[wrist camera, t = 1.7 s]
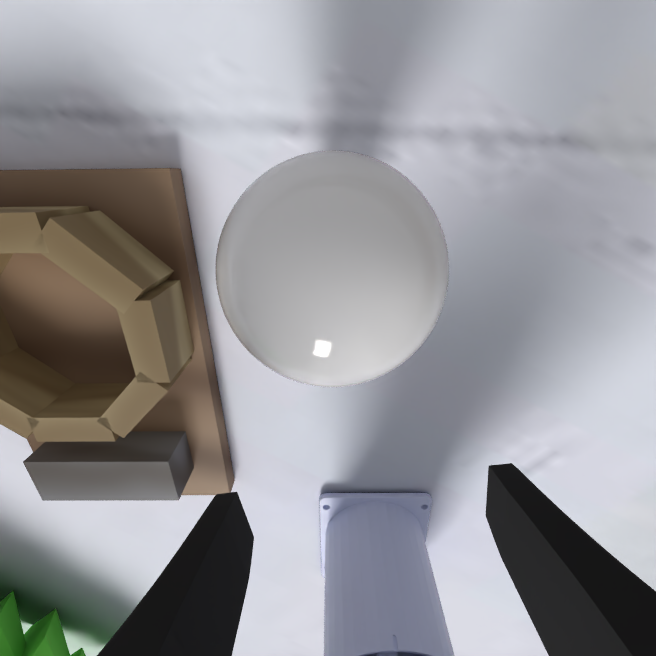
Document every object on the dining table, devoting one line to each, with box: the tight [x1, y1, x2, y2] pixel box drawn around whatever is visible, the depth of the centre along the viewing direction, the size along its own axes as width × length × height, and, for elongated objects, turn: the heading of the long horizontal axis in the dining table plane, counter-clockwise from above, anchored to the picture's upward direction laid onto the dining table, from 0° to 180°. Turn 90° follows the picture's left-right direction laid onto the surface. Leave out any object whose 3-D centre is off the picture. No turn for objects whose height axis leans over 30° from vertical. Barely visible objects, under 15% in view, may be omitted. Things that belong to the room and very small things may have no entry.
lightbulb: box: [216, 150, 449, 387], centre depth 12 cm, size 6×6×11 cm
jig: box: [0, 168, 234, 500], centre depth 18 cm, size 20×12×4 cm, turn 1°
